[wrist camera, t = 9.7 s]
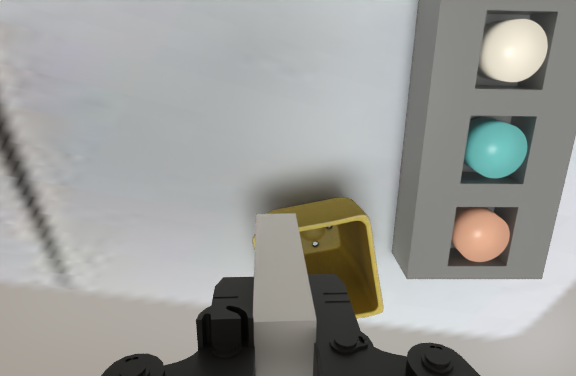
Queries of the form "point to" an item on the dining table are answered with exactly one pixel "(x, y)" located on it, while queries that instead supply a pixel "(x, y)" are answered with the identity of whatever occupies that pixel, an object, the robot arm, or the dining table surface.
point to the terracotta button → (479, 233)
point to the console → (454, 130)
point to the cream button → (512, 50)
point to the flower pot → (340, 249)
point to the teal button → (494, 147)
